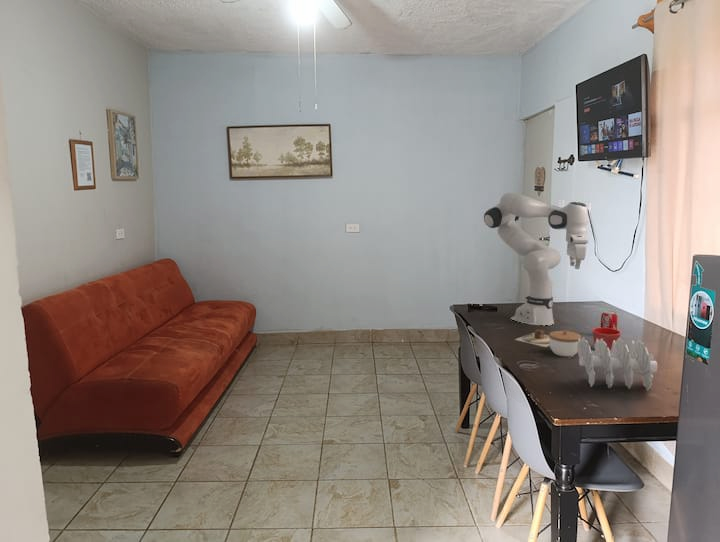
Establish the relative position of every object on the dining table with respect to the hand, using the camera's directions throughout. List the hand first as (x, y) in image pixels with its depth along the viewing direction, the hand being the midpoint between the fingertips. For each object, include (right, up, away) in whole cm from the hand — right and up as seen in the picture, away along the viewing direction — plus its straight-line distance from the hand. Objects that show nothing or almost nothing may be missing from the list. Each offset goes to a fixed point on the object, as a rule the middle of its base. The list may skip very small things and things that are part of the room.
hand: (574, 267), depth 238 cm
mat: (-16, -35, 0) cm, 38 cm away
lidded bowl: (-13, -38, -20) cm, 45 cm away
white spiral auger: (-8, -44, -54) cm, 70 cm away
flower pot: (+6, -37, -17) cm, 41 cm away
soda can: (+18, -33, +5) cm, 38 cm away
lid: (-16, -34, 0) cm, 38 cm away
